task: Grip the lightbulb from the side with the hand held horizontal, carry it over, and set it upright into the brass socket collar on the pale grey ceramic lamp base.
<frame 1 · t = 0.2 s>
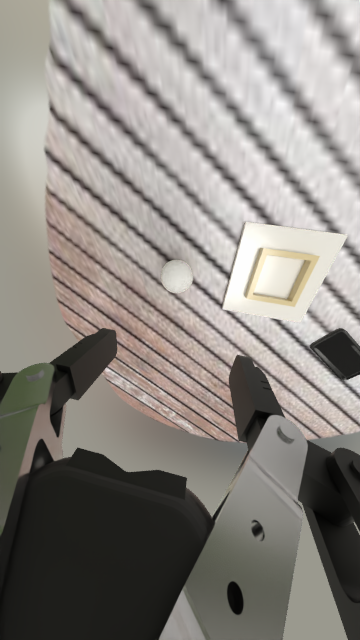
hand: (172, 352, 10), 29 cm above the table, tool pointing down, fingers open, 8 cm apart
lightbulb: (182, 271, 36), on the table
lamp base: (273, 276, 33), on the table
phone: (339, 353, 39), on the table
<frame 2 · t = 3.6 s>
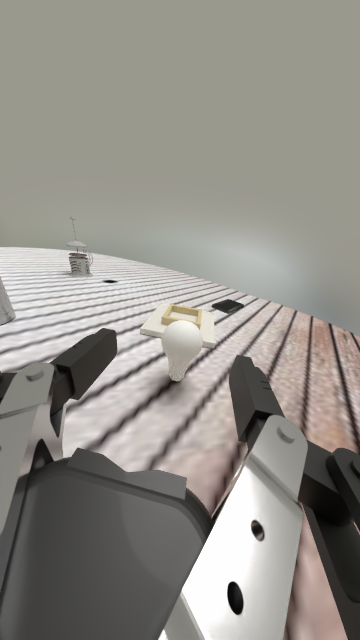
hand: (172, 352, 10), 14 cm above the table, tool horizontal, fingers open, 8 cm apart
lightbulb: (175, 379, 26), on the table
french press: (83, 275, 77), on the table
lamp base: (182, 323, 44), on the table
phone: (227, 307, 63), on the table
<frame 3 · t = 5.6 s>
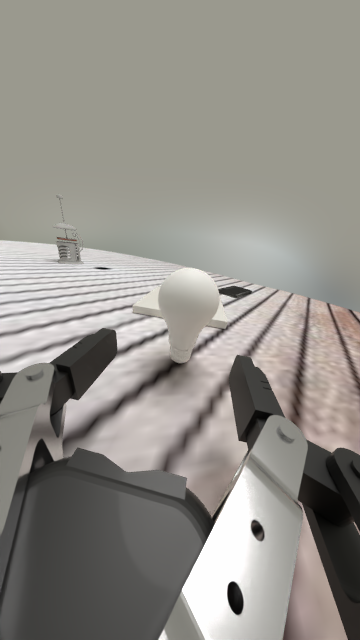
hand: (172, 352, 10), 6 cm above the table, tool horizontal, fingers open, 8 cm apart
lightbulb: (178, 361, 19), on the table
french press: (73, 263, 70), on the table
lamp base: (184, 305, 37), on the table
phone: (234, 293, 56), on the table
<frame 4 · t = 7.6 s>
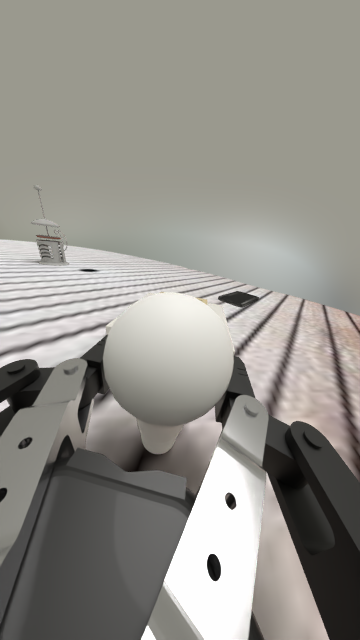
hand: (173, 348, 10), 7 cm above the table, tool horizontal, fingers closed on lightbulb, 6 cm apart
lightbulb: (158, 440, 11), on the table, touching gripper
french press: (56, 264, 62), on the table
lamp base: (177, 320, 29), on the table
phone: (238, 300, 49), on the table
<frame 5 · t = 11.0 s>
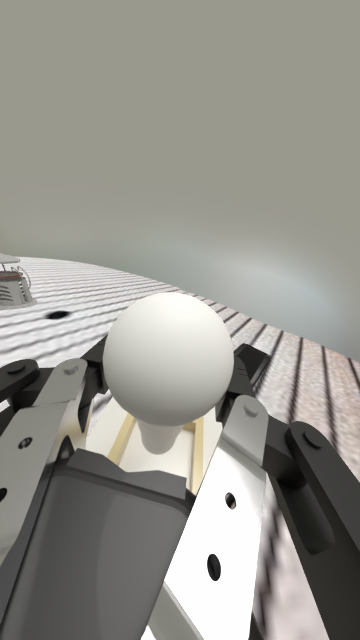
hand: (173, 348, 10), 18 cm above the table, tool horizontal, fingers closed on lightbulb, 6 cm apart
lightbulb: (158, 440, 11), point 11 cm above the table, touching gripper
french press: (20, 304, 50), on the table
lamp base: (156, 467, 18), on the table
phone: (245, 364, 38), on the table
when the fingers open (9 cm above the table, at t = 14.3 s): lightbulb drops 1 cm, resting on lamp base.
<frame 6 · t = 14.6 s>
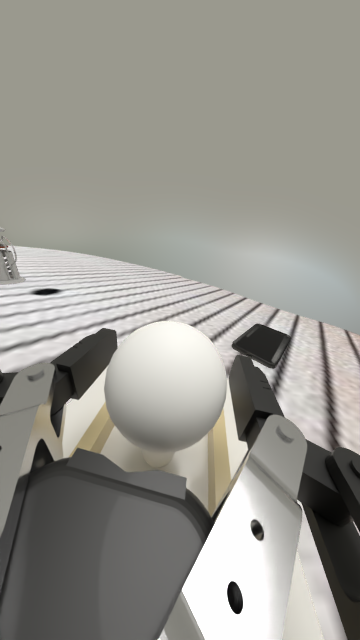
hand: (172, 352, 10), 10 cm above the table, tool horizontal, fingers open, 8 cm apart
lightbulb: (158, 452, 12), point 1 cm above the table, touching lamp base
french press: (5, 281, 45), on the table
lamp base: (155, 458, 12), on the table
phone: (261, 344, 32), on the table
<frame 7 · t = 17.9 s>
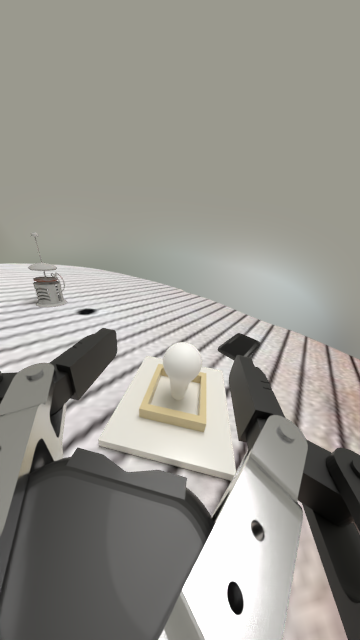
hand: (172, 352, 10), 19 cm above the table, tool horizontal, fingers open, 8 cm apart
lightbulb: (177, 397, 27), point 1 cm above the table, touching lamp base
french press: (54, 303, 61), on the table
lamp base: (175, 401, 28), on the table
phone: (239, 348, 47), on the table
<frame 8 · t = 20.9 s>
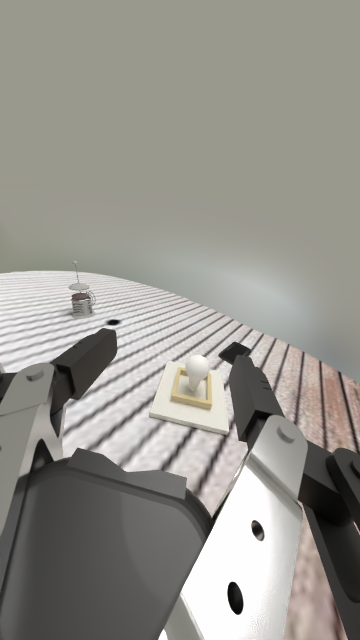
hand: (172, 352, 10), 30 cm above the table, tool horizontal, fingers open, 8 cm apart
lightbulb: (192, 389, 42), point 1 cm above the table, touching lamp base
french press: (85, 314, 75), on the table
lamp base: (191, 392, 43), on the table
phone: (234, 354, 62), on the table
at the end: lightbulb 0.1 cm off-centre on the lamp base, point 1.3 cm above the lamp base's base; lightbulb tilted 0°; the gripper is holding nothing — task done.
